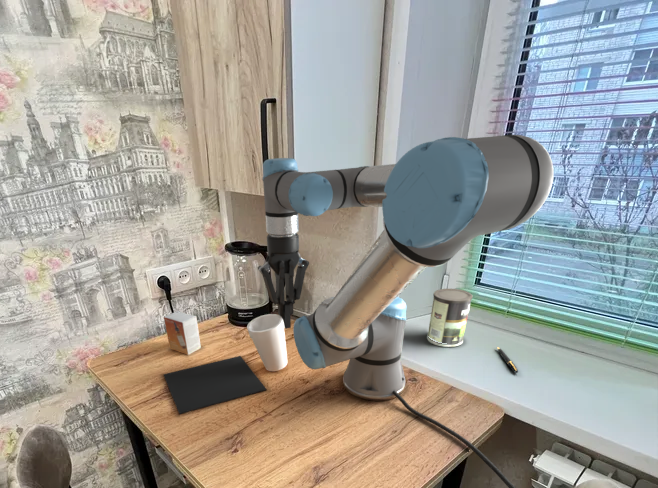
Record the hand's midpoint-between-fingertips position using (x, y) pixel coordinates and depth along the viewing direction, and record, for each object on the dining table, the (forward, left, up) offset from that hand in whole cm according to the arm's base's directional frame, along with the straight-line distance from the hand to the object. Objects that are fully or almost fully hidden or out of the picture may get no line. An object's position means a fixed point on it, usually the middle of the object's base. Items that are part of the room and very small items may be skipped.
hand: (286, 326), depth 109 cm
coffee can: (-9, -47, -11) cm, 50 cm away
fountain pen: (-27, -52, -11) cm, 60 cm away
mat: (0, +22, -11) cm, 24 cm away
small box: (+23, +24, -11) cm, 35 cm away
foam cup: (0, +4, -11) cm, 11 cm away
